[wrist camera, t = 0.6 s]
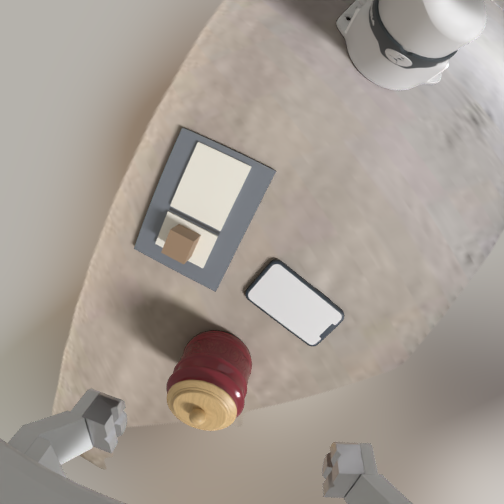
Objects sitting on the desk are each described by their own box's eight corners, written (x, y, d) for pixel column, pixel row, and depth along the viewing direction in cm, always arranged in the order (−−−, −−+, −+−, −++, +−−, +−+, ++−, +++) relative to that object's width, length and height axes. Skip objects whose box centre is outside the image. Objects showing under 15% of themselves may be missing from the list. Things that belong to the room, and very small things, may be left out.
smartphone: (243, 292, 55) (312, 345, 56) (241, 296, 54) (312, 349, 55) (276, 254, 53) (346, 311, 54) (275, 257, 51) (348, 316, 52)
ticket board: (184, 128, 48) (181, 127, 46) (276, 170, 48) (275, 171, 47) (136, 246, 54) (132, 249, 53) (216, 289, 55) (214, 293, 53)
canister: (236, 391, 61) (220, 457, 45) (177, 365, 61) (146, 426, 44) (264, 347, 57) (253, 415, 41) (199, 316, 57) (166, 376, 40)
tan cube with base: (168, 210, 51) (158, 216, 46) (218, 235, 51) (211, 243, 47) (156, 242, 53) (145, 250, 48) (203, 267, 53) (196, 277, 49)
